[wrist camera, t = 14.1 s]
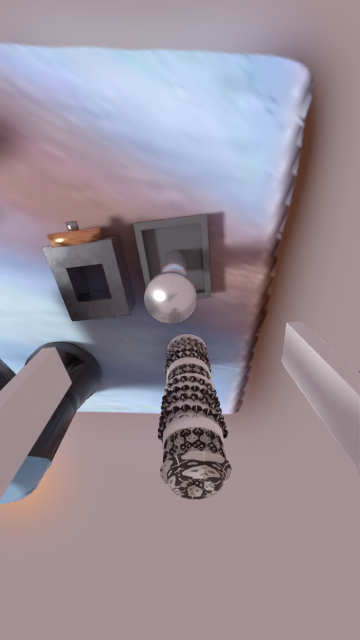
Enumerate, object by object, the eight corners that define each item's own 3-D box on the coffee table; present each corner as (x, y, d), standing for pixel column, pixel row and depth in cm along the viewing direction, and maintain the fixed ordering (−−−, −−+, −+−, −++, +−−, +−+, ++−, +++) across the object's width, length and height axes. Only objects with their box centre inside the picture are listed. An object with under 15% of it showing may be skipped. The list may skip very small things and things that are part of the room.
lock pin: (192, 274, 36) (198, 321, 22) (162, 277, 36) (149, 325, 22) (189, 243, 34) (194, 272, 19) (157, 247, 34) (139, 278, 20)
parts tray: (209, 292, 38) (211, 297, 36) (150, 299, 39) (149, 304, 37) (205, 214, 33) (207, 214, 30) (135, 223, 33) (132, 223, 31)
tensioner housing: (135, 303, 39) (126, 323, 32) (83, 309, 40) (63, 330, 33) (115, 216, 33) (97, 217, 25) (53, 224, 33) (19, 227, 26)
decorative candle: (170, 327, 42) (162, 458, 20) (213, 337, 43) (253, 470, 21) (160, 362, 46) (145, 504, 24) (201, 370, 47) (222, 511, 25)
